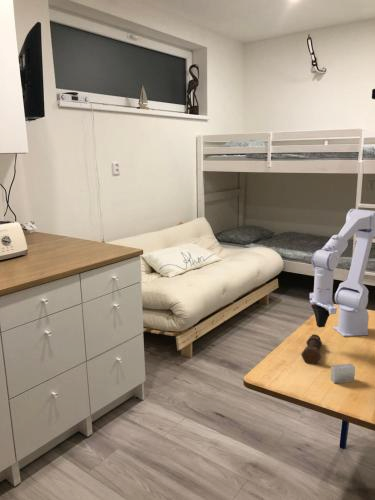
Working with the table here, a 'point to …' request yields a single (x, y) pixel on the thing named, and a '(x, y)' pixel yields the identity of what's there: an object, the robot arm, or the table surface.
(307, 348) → the bolt
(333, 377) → the block
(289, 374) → the table surface
